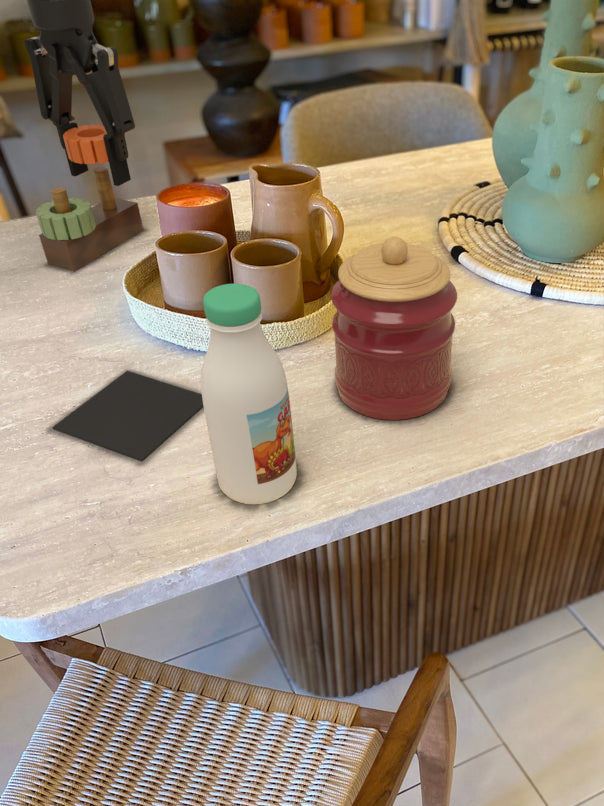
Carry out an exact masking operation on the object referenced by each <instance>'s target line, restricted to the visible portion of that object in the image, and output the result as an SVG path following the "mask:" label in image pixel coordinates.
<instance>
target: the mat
mask: <svg viewBox="0 0 604 806" xmlns="http://www.w3.org/2000/svg"><path fill="white" fill-rule="evenodd" d="M202 409H204V406H203V399H202V393H199V392H195V391H193V390H189V389H186V388H183V387H180V386H177V385H173V384H170V383H167V382H164V381H161V380H158V379H154V378H152V377H149V376H145V375H143V374H139V373H137V372H133V371H131V370H130V371H129V370H126V371H125V372H123V373H122V374H121V375H120V376H118V377H116V378H115V379H114V380H113V381H111V382H110V383H109V384H107V385H106V386H105V387H103V388H102V389H101V390H100V391H98V392H97V393H95V394H94V395H93V396H91V397H90V398H89V399H87V400H86V401H85V402H83V404H81V405H80V406H78V407H77V408H76V409H74V410H73V411H72V412H70V413H69V414H68V415H67V416H65V417H64V418H63V419H61V420H59V421H58V422H57V423H56V424H54V425H53V426H52V430H54V431H57V432H60V433H63V434H66V435H68V436H71V437H73V438H76V439H79V440H82V441H84V442H87V443H89V444H93V445H95V446H98V447H100V448H103V449H106V450H109V451H111V452H114V453H116V454H120V455H123V456H125V457H127V458H131V459H133V460H136V461H139V462H144V461H145V460H146V459H147V458H148V457H149V456H150V455H152V454H153V453H154V452H155V451H156V450H158V448H159V447H161V446H162V445H163V444H164V443H165V442H166V441H167V440H168V439H170V438H171V437H172V436H174V434H175V433H176V432H178V430H180V429H181V428H182V427H183V426H184V425H186V423H188V421H190V420H191V419H192V418H193V417H194V416H196V415H197V413H199V412H200V411H201V410H202Z"/></svg>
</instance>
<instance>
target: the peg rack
mask: <svg viewBox="0 0 604 806" xmlns="http://www.w3.org/2000/svg"><path fill="white" fill-rule="evenodd" d="M93 175H94V179H95V183H96V187H97V191H98V195H99V199H100V202H99V203H97V204H95V205H94V206H91V208H92V212H93V216H94V219H95V223H96V227H95V229H94V231H92V232H91V233H89V234H88V235H86V236H84V235H82V237H80V238H76V239H71V238H69V240H57V239H56V240H53V239H49V238H47V237H45V236H44V235H43V234H42V233H40V234H38V237H39V240H40V243H41V246H42V250H43V253H44V255H45V258H46V261H47V262H46V263H47V264H48V265H49V266H52V267H55V268H58V269H59V268H60V269H63V270H67V271H71V272H77V271H78V270H80V269H82V268H84V267H85V266H87V265H89V264H90V263H92V262H94V261H96V260H97V259H99V258H100V257H103V256H105V254H107V253H109V252H111V251H113V250H115V249H116V248H117V247H119V246H121V245H122V244H124V243H126V242H128V241H129V240H131V239H133V238H135V237H136V236H137V235H140V234H141V233H143V232H145V230H144V226H143V222H142V217H141V212H140V207H139V203H138V202H136V201H132V200H128V199H123V198H120V197H119V198H118V197H115V194H114V190H113V186H112V181H111V177H110V173H109V169H108V167H106V166H99V167H95V168H93ZM50 195H51V198H52V200H53V202H54V205H55V209H56V212H57V214H64V213H69V212H72V210H71V206H70V203H69V199H68V198H69V195H68V193H67V189H66V188H65V187H62V186H60V187H59V186H57V187H54V188H52V189H50Z"/></svg>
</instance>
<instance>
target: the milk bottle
mask: <svg viewBox="0 0 604 806" xmlns="http://www.w3.org/2000/svg"><path fill="white" fill-rule="evenodd" d="M202 305H203V312H204V316H205V323H206V325H207V326H208V327H209V328H210V334H209V342H208V347H207V351H206V354H205V356H204V359H203V362H202V367H201V372H200V390H201V391H200V392H201V393H200V394H202V399H203V406H204V407H203V411H204V416H205V423H206V428H207V433H208V438H209V443H210V449H211V453H212V458H213V464H214V470H215V474H216V479H217V483H218V486H219V488H220V490H221V491H222V493H223V494H224V495H226V496H227V498H229V499H231V500H232V501H234V502H237V503H240V504H245V505H264V504H267V503H272V502H273V501H277V500H278V499H280V498H282V497H284V496H285V495H286V494H287V493H289V492H290V490H291V489H292V488H293V486H294V484H295V482H296V479H297V474H298V473H297V472H298V471H297V457H296V449H295V438H294V427H293V419H292V410H291V402H290V394H289V393H290V392H289V388H288V381H287V376H286V372H285V369H284V366H283V364H282V361H281V359H280V357H279V355H278V353H277V352H276V351H275V349H274V348H273V346H272V345H271V343H270V342H269V340H268V338H267V337H266V335H265V333H264V329H263V327H262V325H261V321H262V320H263V313H262V303H261V295H260V293H259V291H258V290H257V289H256V288H255V287H253V286H250V285H248V284H243V283H225V284H221V285H218V286H215V287H213V288H211V289H209V290H208V291H207V292H205V294H204V296H203V299H202Z"/></svg>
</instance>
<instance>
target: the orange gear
mask: <svg viewBox="0 0 604 806" xmlns="http://www.w3.org/2000/svg"><path fill="white" fill-rule="evenodd" d="M77 126H78V125H77ZM105 134H107V132H106V130H105V128H104V126H103V124H102V123H101V124H95V123H94V124H90V125H89V124H84V125H79V126H78V127H77V128H72V129H70V130H67V132H65V133H64V134H63V138H64V142H65V146H66V150H67V154H68V157H69V159H70V160H71V161H72V162H73V161H74V162H75V163H79V164H83V163H85V164H87V165H96V164H106V163H109V161H108V156H107V152H106V147H105V143H104V139H103V137H104V135H105Z"/></svg>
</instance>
